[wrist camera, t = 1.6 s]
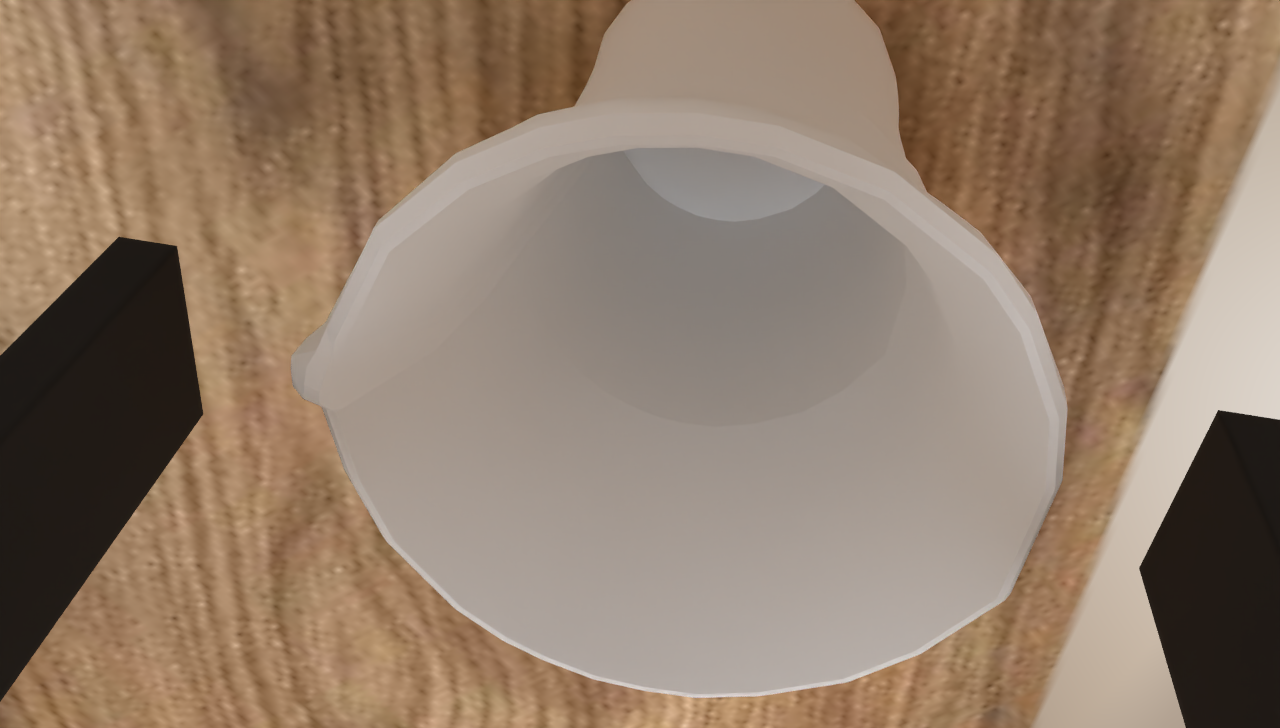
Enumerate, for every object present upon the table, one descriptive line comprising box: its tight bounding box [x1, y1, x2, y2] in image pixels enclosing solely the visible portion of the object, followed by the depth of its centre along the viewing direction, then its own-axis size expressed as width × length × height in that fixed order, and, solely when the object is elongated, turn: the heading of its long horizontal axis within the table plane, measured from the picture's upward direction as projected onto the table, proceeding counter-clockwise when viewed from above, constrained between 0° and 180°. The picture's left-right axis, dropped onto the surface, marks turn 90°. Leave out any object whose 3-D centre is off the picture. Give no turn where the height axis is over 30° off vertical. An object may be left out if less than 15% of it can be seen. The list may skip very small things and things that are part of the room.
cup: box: [291, 0, 1067, 698], centre depth 18 cm, size 9×9×10 cm
